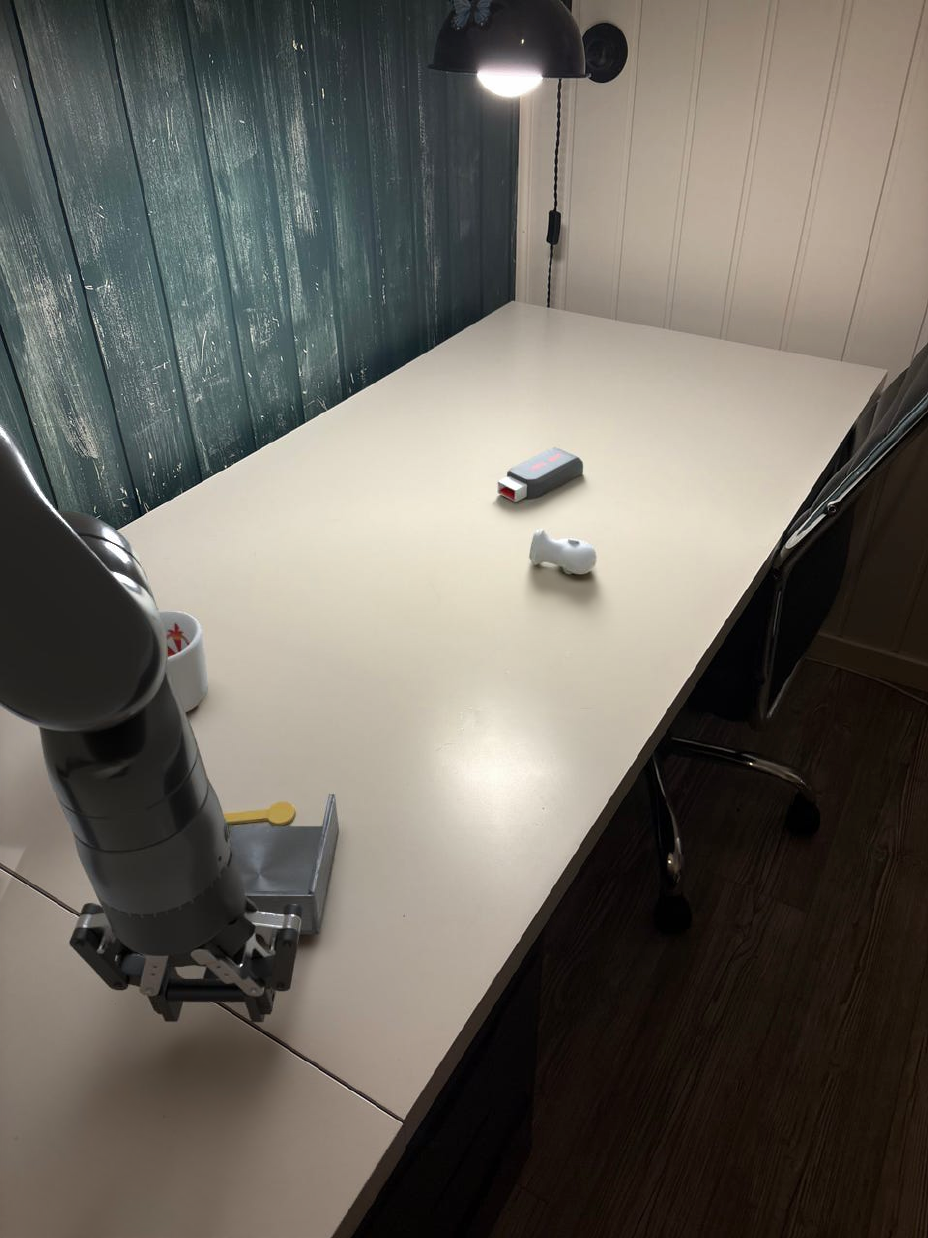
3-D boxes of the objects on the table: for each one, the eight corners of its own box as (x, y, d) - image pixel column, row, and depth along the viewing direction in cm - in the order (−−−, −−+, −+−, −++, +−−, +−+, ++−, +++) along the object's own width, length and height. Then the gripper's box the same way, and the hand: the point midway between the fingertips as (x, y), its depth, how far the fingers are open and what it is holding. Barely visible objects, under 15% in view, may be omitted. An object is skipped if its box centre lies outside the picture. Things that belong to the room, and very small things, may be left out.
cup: (92, 715, 89) (68, 652, 84) (134, 662, 95) (114, 600, 90) (194, 732, 86) (176, 669, 81) (230, 677, 92) (215, 615, 87)
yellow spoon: (294, 821, 77) (294, 825, 78) (295, 800, 79) (295, 803, 80) (220, 829, 77) (220, 832, 77) (222, 807, 79) (223, 810, 79)
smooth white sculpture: (599, 574, 107) (583, 585, 103) (538, 554, 110) (520, 564, 106) (607, 540, 105) (591, 549, 101) (545, 520, 108) (527, 529, 104)
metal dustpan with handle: (132, 1039, 60) (117, 992, 58) (209, 830, 77) (200, 787, 75) (298, 1040, 60) (290, 993, 58) (339, 830, 77) (334, 787, 75)
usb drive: (582, 473, 123) (584, 455, 122) (521, 506, 117) (521, 487, 115) (554, 460, 126) (555, 442, 125) (492, 491, 120) (492, 473, 118)
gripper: (3, 911, 48) (93, 1065, 58) (277, 911, 47) (318, 1066, 58) (55, 798, 53) (129, 957, 64) (300, 797, 53) (333, 957, 64)
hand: (218, 1008), depth 61 cm, fingers closed on metal dustpan with handle, 5 cm apart
